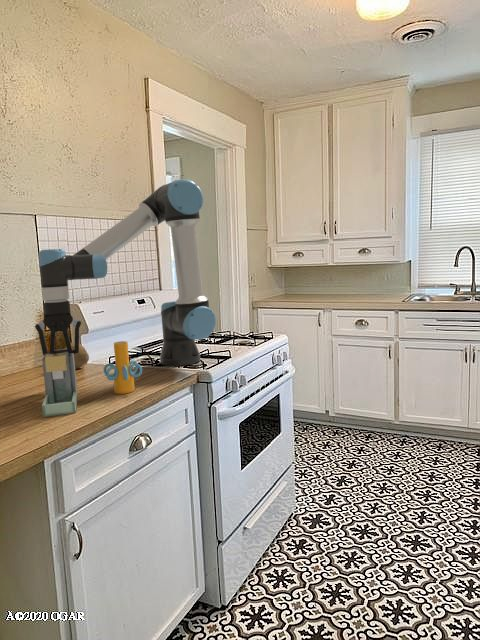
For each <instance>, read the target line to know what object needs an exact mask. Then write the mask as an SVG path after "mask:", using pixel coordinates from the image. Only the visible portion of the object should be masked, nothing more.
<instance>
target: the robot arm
mask: <svg viewBox="0 0 480 640" xmlns="http://www.w3.org/2000/svg"><path fill="white" fill-rule="evenodd" d="M203 205H204V194H203V191H202V190H201V188H200V186H199V185H198V184H197V183H196V182H194V181H192V180H191V179H186V178H183V179H175V180H173V181H172V182H169V183H166V184H163V185H161V186H160V187H158V188H157V189H156V190H154V191H153V192H152V193H151V194H150V195H149V196H148V197H146V199H144V200H142V201H141V202H140V203H139V204H138V208H137V209H135V210H134V211H132V212H131V213H130V214H129V215H127V216H126V217H124V218H123V219H121V220H120V221H118V223H116V224H115V225H113V226H112V227H110V228H109V229H107V230H106V231H104V233H102V234H101V235H99V236H98V237H96V238H95V239H94V240H92V241H91V242H89V243H88V244H87V245H85V246H84V247H82V249H80V250H78V251H77V252H75V253H73V255H71V254H69V255H67V254H66V251H65V249H64V248H52V249H51V248H49V249H42V250H40V251H39V253H38V263H39V264H38V267H39V276H40V282H41V284H40V285H41V295H42V296H41V297H42V301H44V302H43V306H42V307H43V315H44V316H43V319H42V321H41V322H39V323H36V324H35V326H34V327H35V330H36V331H37V333H38V336H39V342H40V348H41V352H42V356H43V357H44V354H49V353H50V354H54V353H55V350H56V333H57V332H62V334H63V337H64V341H65V345H66V346H67V350H68V354H70V353H74V354H76V353H78V352H79V344H80V327H81V325H82V320H78V319H74V317H73V315H72V313H71V311H72V310H71V302H70V301H69V299H70V293H69V292H70V290H69V281H76V280H78V281H79V280H94V279H95V280H97V279H104V278H105V277H106V276H107V274H108V262H107V259H109V258H110V257H111V256H113V255H115V254H116V253H117V252H118V251H120V250H122V248H124V247H126V246H127V245H128V244H129V243H131V242H132V241H134V240H135V239H137V238H138V237H139V236H141V234H143V233H145V232H146V231H147V230H148V229H150V228H151V227H157V226H159V225H160V224H161V223H163V222H165V224H166V225H168V226H169V227H170V232H171V241H172V249H173V259H174V266H175V274H176V281H177V283H176V284H177V293H178V298H177V299H176V300H175V301H167V302H163V303H162V304H161V305H160V307H161V309H160V310H161V311H160V315H161V325H162V326H161V327H162V341H163V343H162V348H161V352H160V356H159V361H160V365H163V366H172V367H179V366H181V367H182V366H189V365H193V364H196V362H197V363H198V361H199V362H201V354H200V351H199V348H198V346H197V343H196V340H198V341H200V340H204V339H206V338H208V337H209V336H210V335H212V333H213V332H214V330H215V328H216V325H217V318H216V315H215V313H214V311H213V310H212V309H211V308H210V303H209V298H208V297H207V296H205V295H204V288H203V280H202V279H203V277H202V270H201V268H202V267H201V262H200V261H201V260H200V250H199V241H198V232H197V224H198V223H199V221H200V220H201V217H200V210H201V209H202V207H203ZM71 324H73V327H74V342H75V349H74V350H72V346H71V343H72V342H71V340H70V334H69V331H68V330H69V327H70V326H71ZM45 327H46V328H47V329H49V331H50V340H49V341H50V343H49V345H50V346H49V351H48V348H47V347H48V345H47V342H46V337H45V331H44V328H45ZM66 346H65V347H66Z"/></svg>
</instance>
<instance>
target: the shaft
mask: <svg viewBox="0 0 480 640" xmlns="http://www.w3.org/2000/svg"><path fill="white" fill-rule="evenodd" d="M63 352H68V350H67V349H64V348H62V349H60V348H59V349H55V353H54V354H59V353H63ZM52 376H53V379H62V378H64V376H65V371H54V372H52Z"/></svg>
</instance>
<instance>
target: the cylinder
mask: <svg viewBox="0 0 480 640" xmlns="http://www.w3.org/2000/svg"><path fill="white" fill-rule="evenodd" d="M113 350H114V362H115V364H114V363H107V364H105V365H104V367H103V373H104V375H105V376H106V378H107V380H108V381H113V390H114V394H118V395H125V394H129V393H133V392H135V390H136V389H135V378H138V377H140V376H142V374H143V368H142V366H141V365H140V364H139V363H138V362H137V361H136V360H130V357H129V344H128V341H126V340H123V341H122V340H120V341H116V342H115V341H114V342H113ZM133 367H134V370H133V371H132V368H133ZM112 369H114V372H113V374H111V373H110V371H112ZM138 369H139V373H137V372H138ZM136 373H137V374H136Z"/></svg>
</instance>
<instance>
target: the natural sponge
mask: <svg viewBox="0 0 480 640" xmlns="http://www.w3.org/2000/svg"><path fill="white" fill-rule="evenodd" d="M71 346H72V350H74V349H75V341H72V342H71ZM63 349H67V346H65V347H64V348H63ZM89 361H90V356H89V353H88V351H87V350H86V348H85V347H84V346H83V345H82V344H81V343H79V352H78V353H76V354H74V362H75V370H79V369H81V368H82V366H84V365H85V364H87V363H88V362H89Z"/></svg>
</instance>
